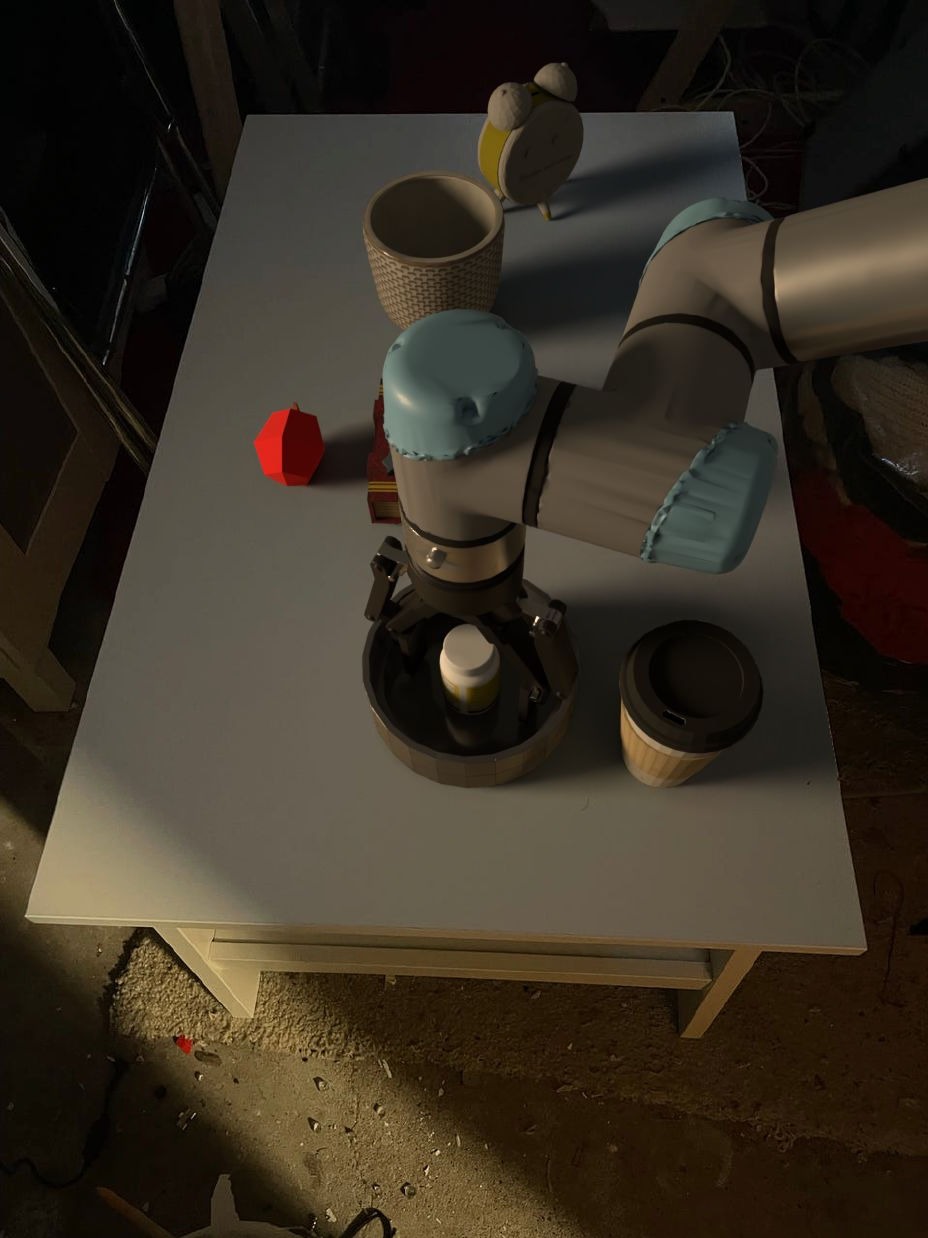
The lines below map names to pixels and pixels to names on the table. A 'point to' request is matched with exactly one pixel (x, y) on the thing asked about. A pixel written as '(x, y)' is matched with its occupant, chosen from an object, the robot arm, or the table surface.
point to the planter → (434, 244)
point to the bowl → (446, 737)
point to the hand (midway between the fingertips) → (471, 684)
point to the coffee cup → (685, 699)
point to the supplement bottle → (470, 670)
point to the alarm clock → (532, 137)
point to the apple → (290, 446)
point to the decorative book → (382, 472)
